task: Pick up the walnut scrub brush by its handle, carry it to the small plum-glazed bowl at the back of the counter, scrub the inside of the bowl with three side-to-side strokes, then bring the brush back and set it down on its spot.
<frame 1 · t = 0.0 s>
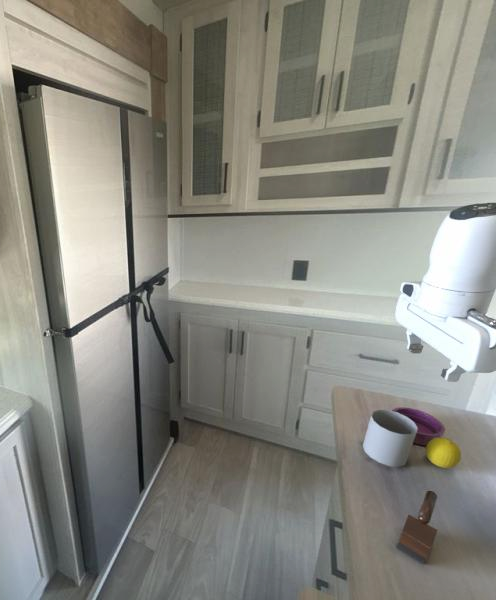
hand: (430, 364, 64), 32 cm above the countertop, tool pointing down, fingers open, 8 cm apart
bowl: (413, 431, 87), on the countertop
brush: (415, 538, 64), on the countertop
lemon: (437, 466, 78), on the countertop
cup: (383, 453, 82), on the countertop
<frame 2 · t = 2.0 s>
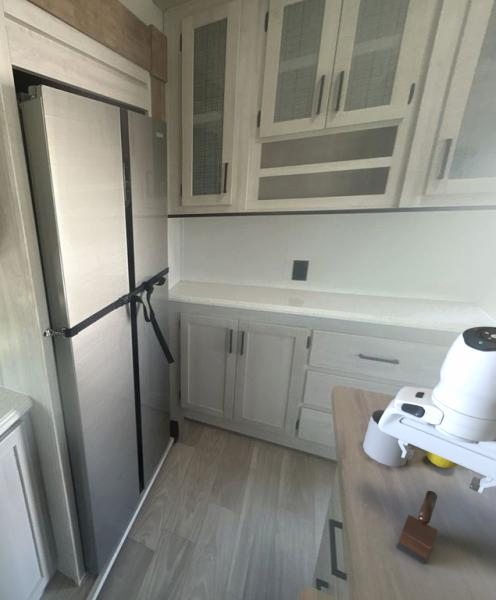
hand: (439, 472, 63), 13 cm above the countertop, tool pointing down, fingers open, 8 cm apart
nothing on the countertop moved.
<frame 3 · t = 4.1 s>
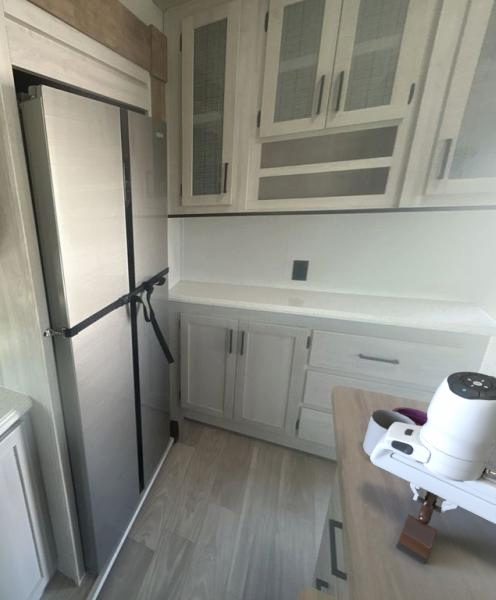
hand: (428, 505, 66), 4 cm above the countertop, tool pointing down, fingers closed on brush
brush: (415, 538, 64), on the countertop, touching gripper
everything else where it was.
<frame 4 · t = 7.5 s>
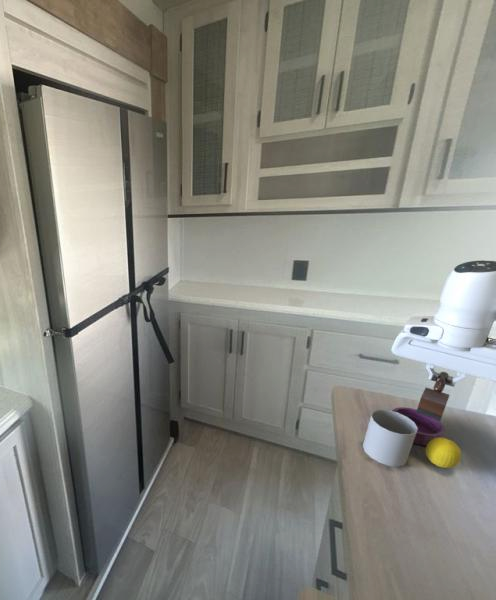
hand: (441, 382, 80), 17 cm above the countertop, tool pointing down, fingers closed on brush
brush: (431, 407, 78), point 13 cm above the countertop, touching gripper
everything else where it was.
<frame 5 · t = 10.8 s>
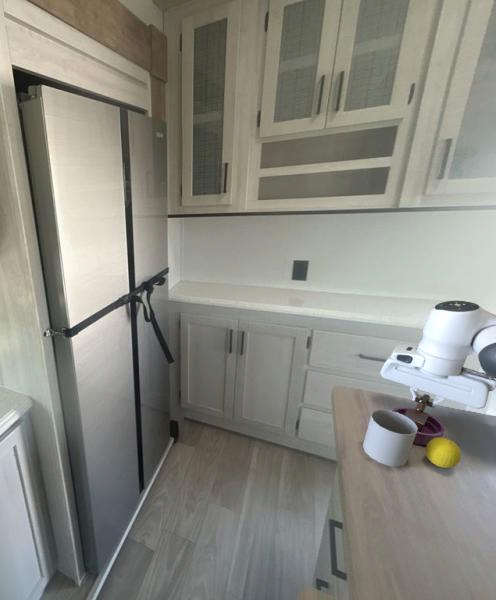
hand: (423, 403, 90), 4 cm above the countertop, tool pointing down, fingers closed on brush
brush: (412, 425, 88), point 1 cm above the countertop, touching bowl, gripper
everything else where it was.
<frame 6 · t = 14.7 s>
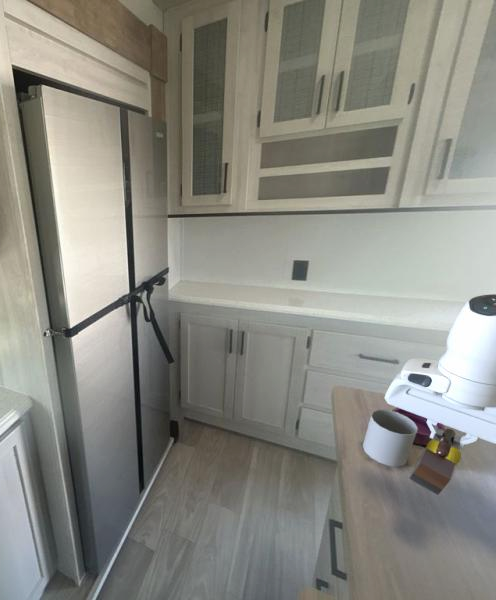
hand: (445, 442, 64), 17 cm above the countertop, tool pointing down, fingers closed on brush
brush: (428, 472, 62), point 14 cm above the countertop, tilted 8°, touching gripper
everything else where it was.
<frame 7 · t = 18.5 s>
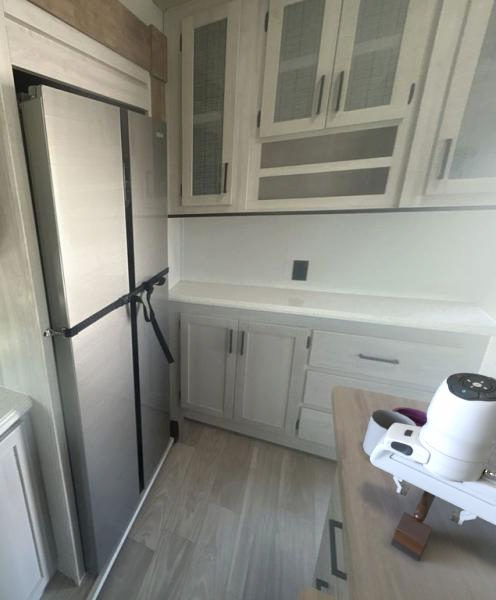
hand: (427, 505, 66), 4 cm above the countertop, tool pointing down, fingers open, 7 cm apart
brush: (411, 536, 65), on the countertop
everything else where it was.
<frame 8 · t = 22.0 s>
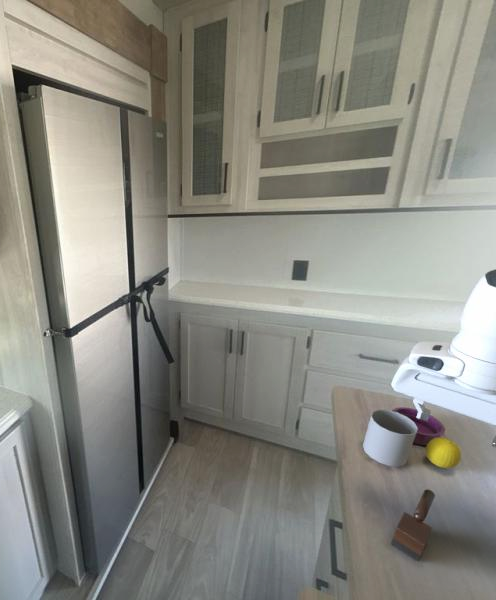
hand: (458, 431, 59), 23 cm above the countertop, tool pointing down, fingers open, 8 cm apart
nothing on the countertop moved.
at the end: brush 0.7 cm from the target spot on the countertop beside the bowl, on the countertop; brush tilted 0°; the gripper is holding nothing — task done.
